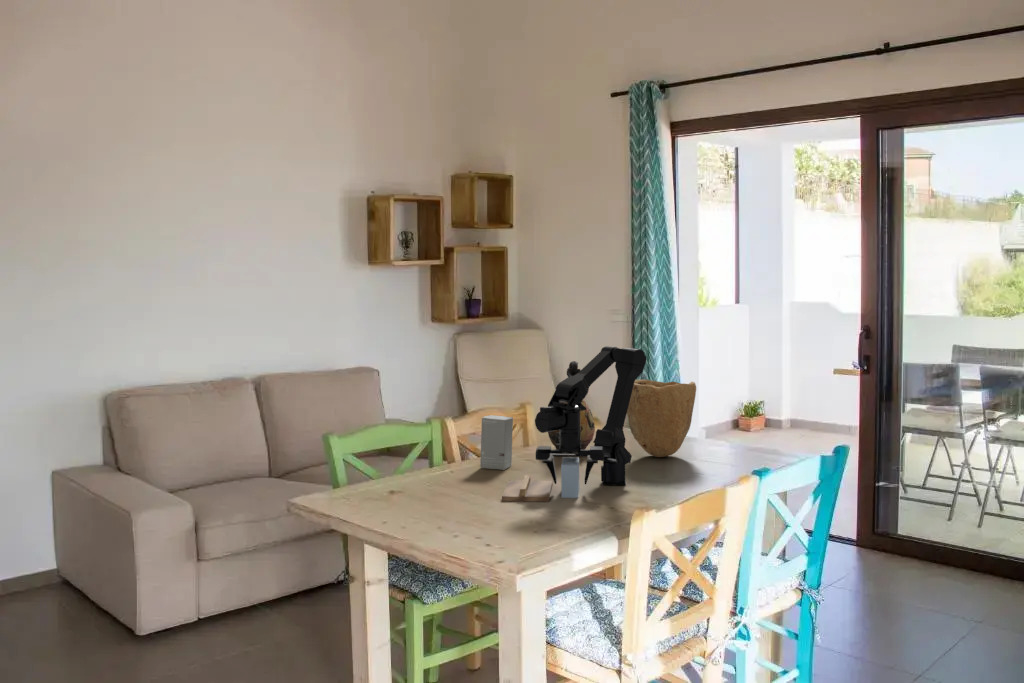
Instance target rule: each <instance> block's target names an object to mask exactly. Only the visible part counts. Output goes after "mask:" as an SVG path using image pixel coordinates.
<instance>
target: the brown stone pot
mask: <svg viewBox="0 0 1024 683" xmlns="http://www.w3.org/2000/svg"><path fill="white" fill-rule="evenodd" d="M696 394H697V385H696V382H695V381H690V382H689V383H683V382H681V383H680V382H678V381H668V382H663V381H657V380H652V379H636V380H635V382H634V386H633V390H632V394H631V398H630V402H629V406H628V410H627V414H626V416H627V420H628V427H629V429H630V432H631V434H632V436H633V438H634V440H635V441H636V442H637V443H638V445H639V446H640V447H641V448H642V449H643V451H644V452H646V453H648V455H651V456H652V457H655V458H664V457H668V456H672V455H674V454H675V453H677V452H678V451H679V450H680V449H681V446H682V444H683V443H684V440H685V439H686V437H687V434H688V433H689V432H690V428H691V424H692V420H693V418H692V417H693V413H694V412H693V411H694V407H695V406H694V405H695V402H696Z"/></svg>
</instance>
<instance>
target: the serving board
mask: <svg viewBox="0 0 1024 683" xmlns="http://www.w3.org/2000/svg"><path fill="white" fill-rule="evenodd" d="M553 484H554V480H531V475H529V474H527V475H526V474H524V478H523V479H522V480H508V482H507V484H506V486H505V488H504V491H503V494H502V495H501V502H550V496H551V493H552V490H553Z"/></svg>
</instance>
